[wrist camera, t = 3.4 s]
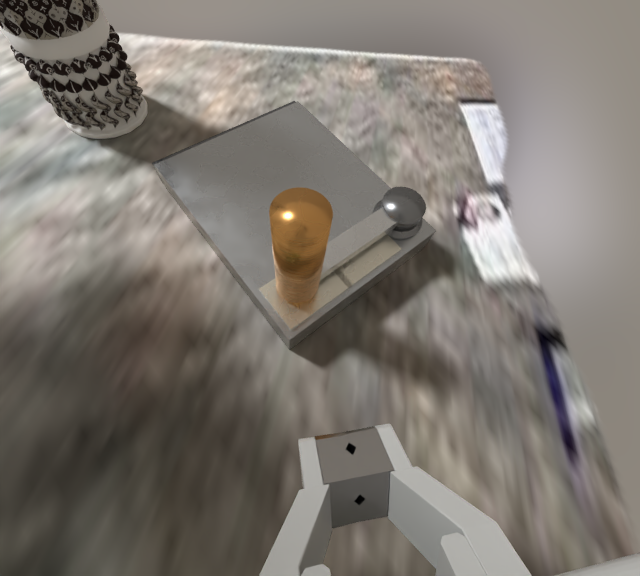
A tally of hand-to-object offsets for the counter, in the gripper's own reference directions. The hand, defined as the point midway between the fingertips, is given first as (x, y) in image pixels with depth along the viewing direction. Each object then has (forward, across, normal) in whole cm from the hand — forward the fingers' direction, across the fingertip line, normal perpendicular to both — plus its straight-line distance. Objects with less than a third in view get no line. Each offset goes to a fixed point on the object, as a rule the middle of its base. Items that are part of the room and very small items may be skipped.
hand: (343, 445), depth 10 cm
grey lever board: (+23, -1, -4) cm, 23 cm away
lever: (+17, -5, -2) cm, 17 cm away
